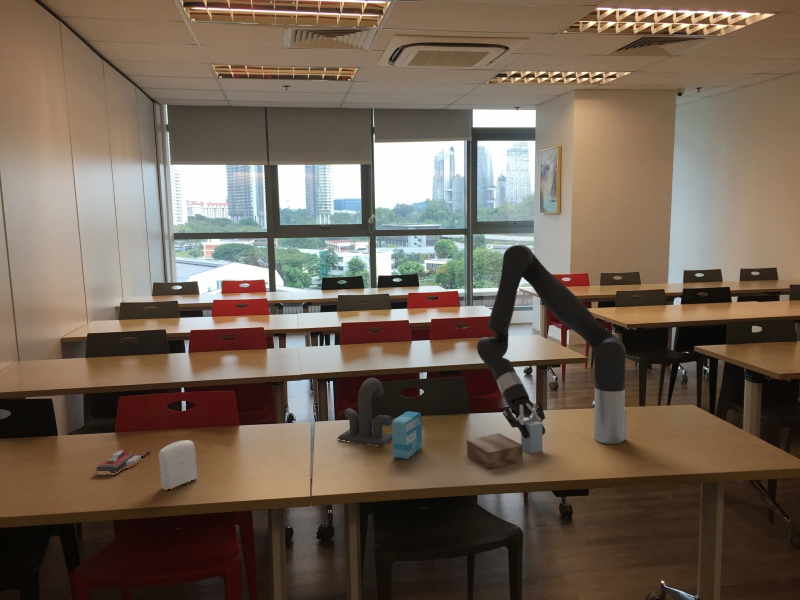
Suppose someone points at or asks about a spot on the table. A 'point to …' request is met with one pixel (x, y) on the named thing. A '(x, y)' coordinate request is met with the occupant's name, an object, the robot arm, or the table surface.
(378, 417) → the faucet
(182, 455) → the photo printer
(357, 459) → the table surface
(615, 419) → the robot arm
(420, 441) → the light blue box
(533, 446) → the slate block
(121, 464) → the walkie-talkie
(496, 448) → the walnut base
